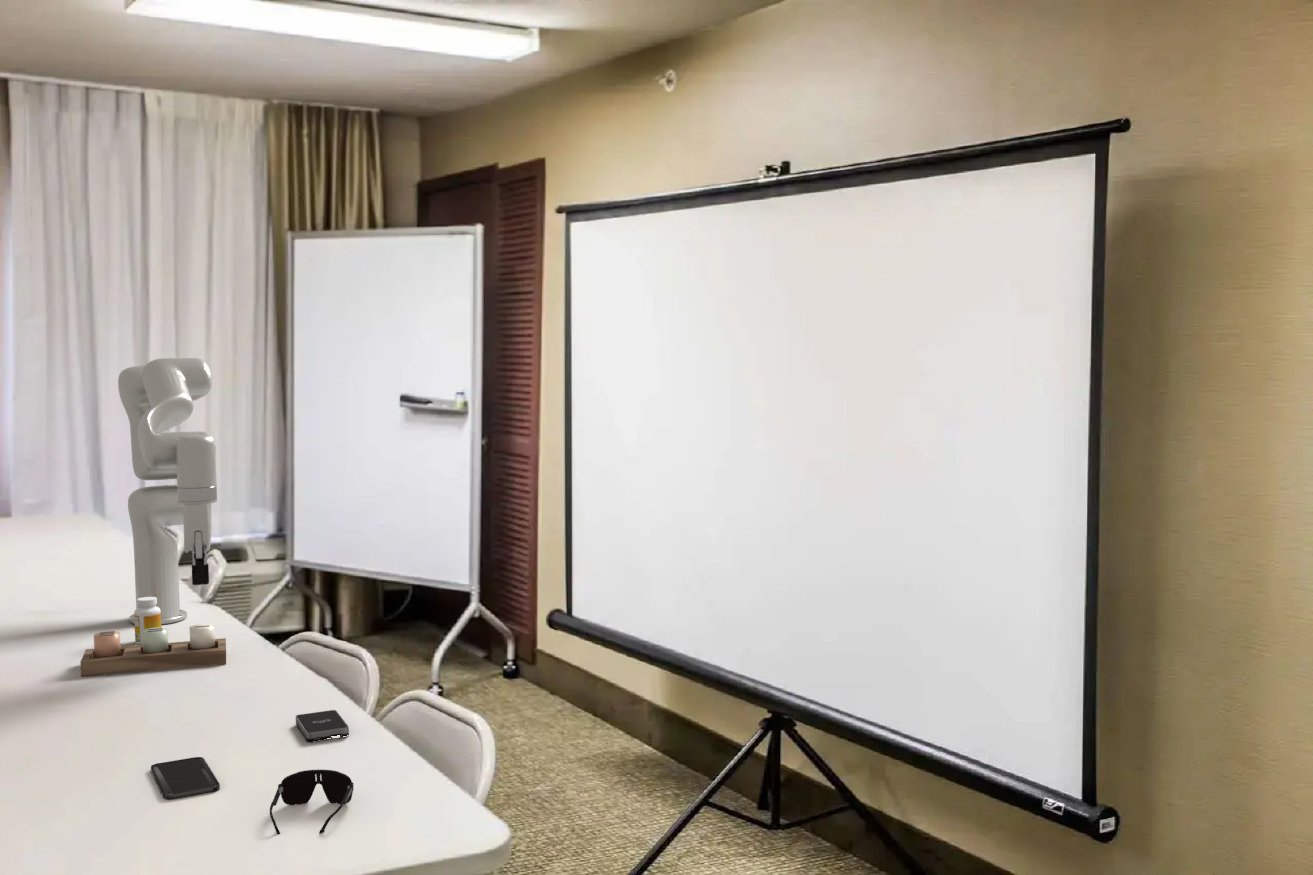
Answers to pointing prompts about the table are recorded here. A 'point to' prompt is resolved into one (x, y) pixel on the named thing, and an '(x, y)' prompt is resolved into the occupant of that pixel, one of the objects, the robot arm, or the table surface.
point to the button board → (153, 659)
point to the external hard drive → (321, 725)
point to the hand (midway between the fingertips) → (200, 583)
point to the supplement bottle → (146, 617)
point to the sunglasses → (303, 785)
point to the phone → (184, 778)
